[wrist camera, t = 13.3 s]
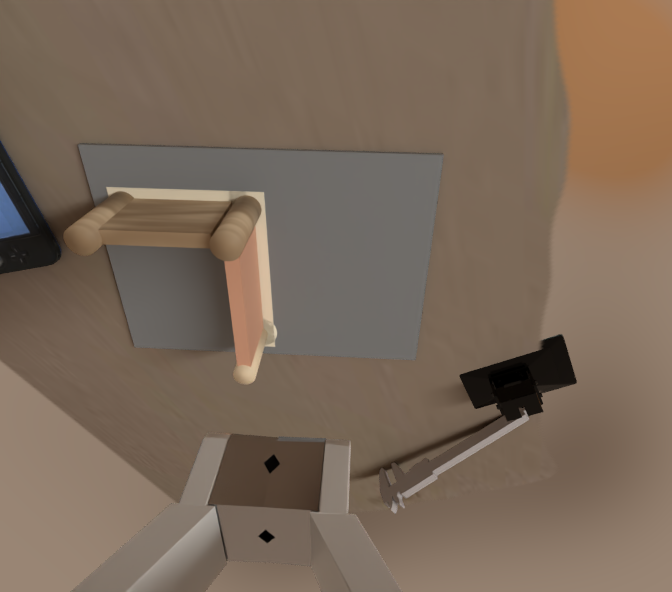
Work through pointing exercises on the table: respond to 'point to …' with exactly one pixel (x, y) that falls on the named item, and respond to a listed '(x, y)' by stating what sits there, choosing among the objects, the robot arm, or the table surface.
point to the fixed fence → (166, 224)
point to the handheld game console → (22, 224)
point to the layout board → (282, 246)
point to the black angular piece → (522, 379)
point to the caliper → (441, 462)
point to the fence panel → (246, 311)
